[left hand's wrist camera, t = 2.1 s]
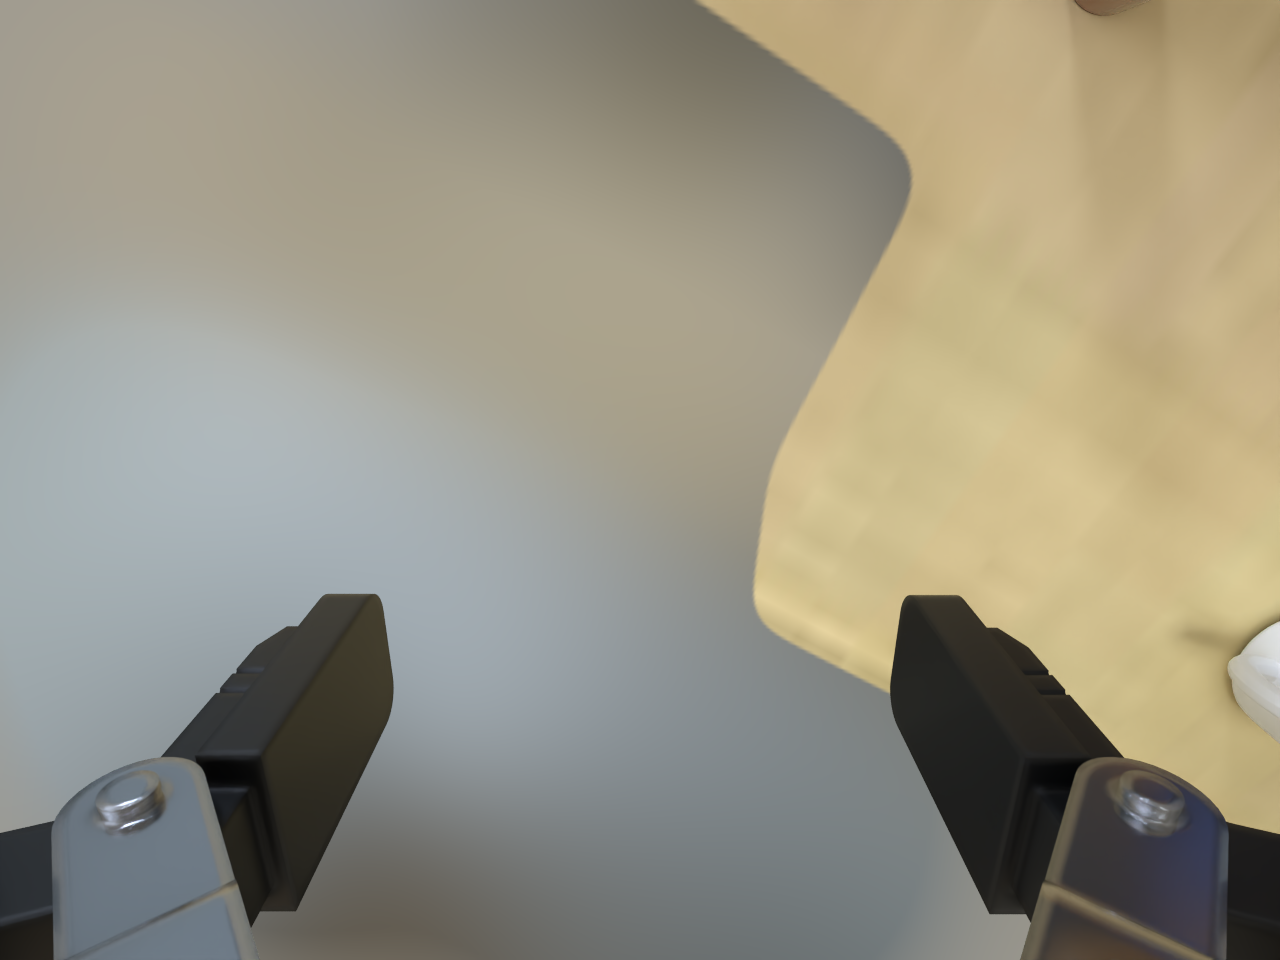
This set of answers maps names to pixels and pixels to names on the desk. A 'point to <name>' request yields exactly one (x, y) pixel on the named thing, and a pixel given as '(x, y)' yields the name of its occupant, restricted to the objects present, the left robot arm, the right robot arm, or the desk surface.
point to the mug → (1259, 680)
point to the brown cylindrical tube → (1108, 5)
